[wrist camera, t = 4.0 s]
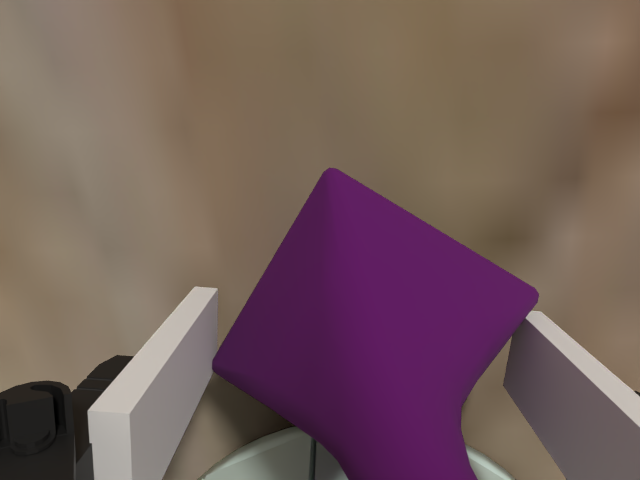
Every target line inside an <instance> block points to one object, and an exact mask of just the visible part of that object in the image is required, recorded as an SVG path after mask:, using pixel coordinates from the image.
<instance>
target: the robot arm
mask: <svg viewBox="0 0 640 480" xmlns="http://www.w3.org/2000/svg"><path fill="white" fill-rule="evenodd" d="M217 327H218V288H205V287H194V288H193V289H192V290H191V291H190V293H189V294H188V295H187V296H186V297H185V298H184V300H183V301H182V302H181V303H180V304H179V305H178V307H177V308H176V309H175V310H174V311H173V312H172V313H171V315H170V316H169V317H168V318H167V319H166V320H165V322H164V323H163V324H162V325H161V326H160V327H159V329H158V330H157V331H156V332H155V333H154V334H153V335H152V337H151V338H150V339H149V340H148V341H147V342H146V344H145V345H144V346H143V347H142V348H141V349H140V351H139V352H138V353H137V354H136V355H135V356H120V355H116V356H114V357H113V358H111V359H109V360H107V361H105V362H103V363H101V364H99V365H98V366H97V367H96V368H95V369H94V370H93V371H92V372H91V373H90V374H89V375H88V376H87V379H84V380H83V381H82V382H81V383H80V384H79V385H78V386H77V389H74V390H73V391H72V392H71V391H70V389H69V387H68V386H66V385H64V384H62V383H61V382H54V381H38V382H30V383H26V384H22V385H18V386H15V387H12V388H10V389H8V390H5V391H3V392H1V393H0V480H162V478H163V476H164V474H165V472H166V470H167V468H168V466H169V464H170V462H171V459H172V457H173V455H174V453H175V451H176V449H177V447H178V445H179V443H180V441H181V439H182V437H183V434H184V432H185V430H186V428H187V426H188V424H189V422H190V420H191V418H192V416H193V414H194V412H195V409H196V407H197V405H198V403H199V401H200V399H201V397H202V395H203V393H204V391H205V389H206V387H207V385H208V382H209V380H210V378H211V376H212V374H213V372H214V371H213V369H212V361H213V358H214V357H215V355H216V353H217ZM503 386H504V388H505V389H506V390H507V392H508V393H509V395H510V396H511V398H512V399H513V401H514V402H515V404H516V405H517V407H518V408H519V410H520V411H521V413H522V414H523V416H524V417H525V418H526V420H527V421H528V423H529V424H530V426H531V427H532V429H533V430H534V432H535V433H536V435H537V436H538V438H539V439H540V441H541V442H542V444H543V445H544V446H545V448H546V449H547V451H548V452H549V454H550V455H551V457H552V458H553V460H554V461H555V463H556V464H557V466H558V467H559V469H560V470H561V472H562V473H563V474H564V476H565V477H566V479H567V480H640V393H639V392H637V391H633V390H632V389H630V388H629V387H628V386H627V385H626V384H625V383H623V382H622V381H621V380H620V379H619V378H618V377H616V376H615V375H614V374H613V373H612V372H611V371H609V370H608V369H607V368H606V367H605V366H604V365H602V364H601V363H600V362H599V361H598V360H597V359H595V358H594V357H593V356H592V355H591V354H590V353H589V352H587V351H586V350H585V349H584V348H583V347H582V346H580V345H579V344H578V343H577V342H576V341H575V340H573V339H572V338H571V337H570V336H569V335H568V334H566V333H565V332H564V331H563V330H562V329H561V328H559V327H558V326H557V325H556V324H555V323H554V322H552V321H551V320H550V319H549V318H548V317H547V316H545V315H544V314H543V313H542V312H541V311H530V313H529V314H528V315H527V317H526V318H525V319H524V320H523V322H522V323H521V324H520V326H519V327H518V328H517V330H516V331H515V332H514V333H513V335H512V340H511V346H510V351H509V356H508V362H507V367H506V373H505V378H504V383H503Z"/></svg>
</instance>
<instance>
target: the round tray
mask: <svg viewBox="0 0 640 480" xmlns="http://www.w3.org/2000/svg"><path fill="white" fill-rule="evenodd" d="M465 447H466V451H467V454H468V458H469V462H470V466H471V468H472V470H473V471H474V473H475V475H476V477H477V479H478V480H516V479H515V478H514V477H513V476H512V475H510V474H509V473H508V472H507V471H506V470H505V469H504V468H503V467H501V466H500V465H498V464H497V463H496V462H494V461H493V460H491V459H490V458H489V457H487V456H486V455H485V454H483V453H481V452H479V451H478V450H476V449H474V448H472V447H470V446H468V445H466V444H465ZM198 480H348V478H347V476H346V475H345V473H344V471H343V469H342V468H341V466H340V464H339V463H338V461H337V460H336V459H335V458H334V457H333V456H332V455H331V454H330V453H329V452H328V451H327V450H326V449H325V448H324V447H323V446H322V445H321V444H320V443H319V442H318V441H316V440H315V439H313V438H312V437H311V436H309V435H308V434H306V433H305V432H303V431H302V430H301V429H299V428H298V427H296V426H295V427H290V428H287V429H284V430H281V431H278V432H275V433H272V434H269V435H266V436H263V437H261V438H259V439H257V440H255V441H253V442H251V443H249V444H247V445H245V446H243V447H241V448H239V449H237V450H235V451H234V452H232V453H231V454H229V455H228V456H226V457H225V458H223V459H222V460H220V461H219V462H217V463H216V464H215V465H213V466H212V467H211V468H210V469H209V470H208V471H207V472H206V473H204V474H203V475H202V476H201V477H200V478H199V479H198Z"/></svg>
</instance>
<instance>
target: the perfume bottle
mask: <svg viewBox="0 0 640 480" xmlns="http://www.w3.org/2000/svg"><path fill="white" fill-rule="evenodd" d="M538 297H539V293H538V292H537V290H536V289H535V288H534V287H532V286H530V285H529V284H527V283H525V282H524V281H522V280H520V279H519V278H517V277H515V276H514V275H512V274H510V273H509V272H507V271H505V270H504V269H502V268H500V267H499V266H497V265H495V264H494V263H492V262H490V261H489V260H487V259H485V258H484V257H482V256H480V255H479V254H477V253H476V252H474V251H472V250H471V249H469V248H467V247H466V246H464V245H462V244H461V243H459V242H457V241H456V240H454V239H452V238H451V237H449V236H447V235H446V234H444V233H442V232H441V231H439V230H437V229H436V228H434V227H432V226H431V225H429V224H427V223H426V222H424V221H422V220H421V219H419V218H417V217H416V216H414V215H412V214H411V213H409V212H408V211H406V210H404V209H403V208H401V207H399V206H398V205H396V204H394V203H393V202H391V201H389V200H388V199H386V198H384V197H383V196H381V195H379V194H378V193H376V192H374V191H373V190H371V189H369V188H368V187H366V186H364V185H363V184H361V183H359V182H358V181H356V180H354V179H353V178H351V177H349V176H348V175H346V174H344V173H343V172H341V171H340V170H338V169H335V168H328V169H327V170H326V171H324V172H323V174H322V176H321V177H320V179H319V181H318V182H317V184H316V186H315V187H314V189H313V191H312V193H311V194H310V196H309V198H308V199H307V201H306V203H305V204H304V206H303V208H302V209H301V211H300V213H299V215H298V216H297V218H296V220H295V221H294V223H293V225H292V226H291V228H290V230H289V231H288V233H287V235H286V237H285V238H284V240H283V242H282V243H281V245H280V247H279V248H278V250H277V252H276V253H275V255H274V257H273V259H272V260H271V262H270V264H269V265H268V267H267V269H266V270H265V272H264V274H263V275H262V277H261V279H260V281H259V282H258V284H257V286H256V287H255V289H254V291H253V292H252V294H251V296H250V297H249V299H248V301H247V303H246V304H245V306H244V308H243V309H242V311H241V313H240V314H239V316H238V318H237V319H236V321H235V323H234V325H233V326H232V328H231V330H230V331H229V333H228V335H227V336H226V338H225V340H224V341H223V343H222V345H221V347H220V348H219V350H218V352H217V353H216V355H215V357H214V358H213V361H212V369H213V371H214V372H215V373H216V374H217V375H219V376H221V377H222V378H224V379H225V380H227V381H228V382H230V383H232V384H233V385H235V386H236V387H238V388H239V389H241V390H243V391H244V392H246V393H247V394H249V395H250V396H252V397H254V398H255V399H257V400H258V401H260V402H261V403H263V404H265V405H266V406H268V407H269V408H271V409H272V410H274V411H275V412H276V413H278V414H279V415H281V416H282V417H284V418H285V419H286V420H288V421H289V422H291V423H292V424H293V425H295V426H296V427H298V428H299V429H301V430H302V431H303V432H305V433H306V434H308V435H309V436H311V437H312V438H313V439H315V440H316V441H318V442H319V443H320V444H321V445H322V446H323V447H324V448H325V449H326V450H327V451H328V452H329V453H330V454H331V455H332V456H333V457H334V458H335V459H336V460H337V461H338V463H339V464H340V466H341V468H342V469H343V471H344V473H345V475H346V476H347V478H348V480H478V479H477V477H476V475H475V473H474V471H473V470H472V468H471V466H470V462H469V458H468V454H467V451H466V447H465V443H464V439H463V435H462V432H461V407H462V405H463V403H464V402H465V400H466V398H467V397H468V395H469V393H470V392H471V390H472V388H473V387H474V385H475V383H476V382H477V380H478V379H479V378H480V377H481V375H482V374H483V373H484V371H485V370H486V369H487V367H488V366H489V365H490V363H491V362H492V361H493V360H494V358H495V357H496V356H497V354H498V353H499V352H500V350H501V349H502V348H503V347H504V345H505V344H506V343H507V341H508V340H509V339H510V337H511V336H512V335H513V333H514V332H515V331H516V330H517V328H518V327H519V326H520V324H521V323H522V322H523V320H524V319H525V318H526V317H527V315H528V314H529V313H530V311H531V310H532V309H533V307H534V306H535V305H536V303H537V302H538Z"/></svg>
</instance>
